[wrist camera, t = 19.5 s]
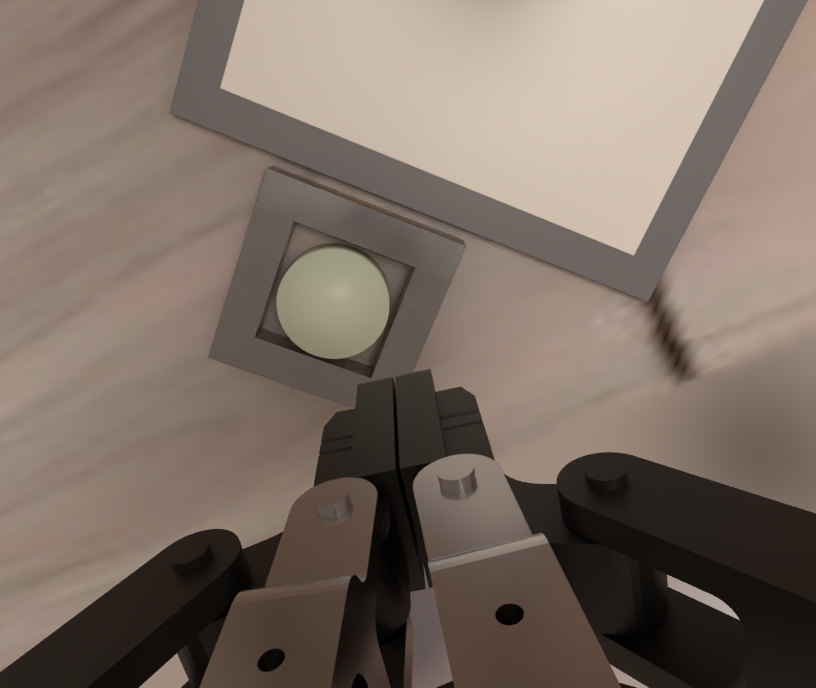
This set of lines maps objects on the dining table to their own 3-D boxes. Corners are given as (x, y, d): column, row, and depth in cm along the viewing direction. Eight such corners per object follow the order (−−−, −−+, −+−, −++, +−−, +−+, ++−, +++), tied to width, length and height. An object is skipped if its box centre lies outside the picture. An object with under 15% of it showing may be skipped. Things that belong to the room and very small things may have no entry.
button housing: (215, 347, 28) (208, 357, 27) (272, 165, 25) (267, 168, 24) (391, 408, 29) (391, 420, 28) (462, 240, 26) (466, 246, 25)
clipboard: (174, 113, 24) (163, 112, 23) (300, -372, 20) (294, -403, 19) (642, 297, 27) (654, 306, 26) (845, -89, 23) (872, -101, 22)
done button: (268, 325, 27) (262, 336, 26) (301, 227, 26) (296, 233, 24) (367, 361, 28) (366, 373, 26) (405, 266, 26) (405, 274, 25)
